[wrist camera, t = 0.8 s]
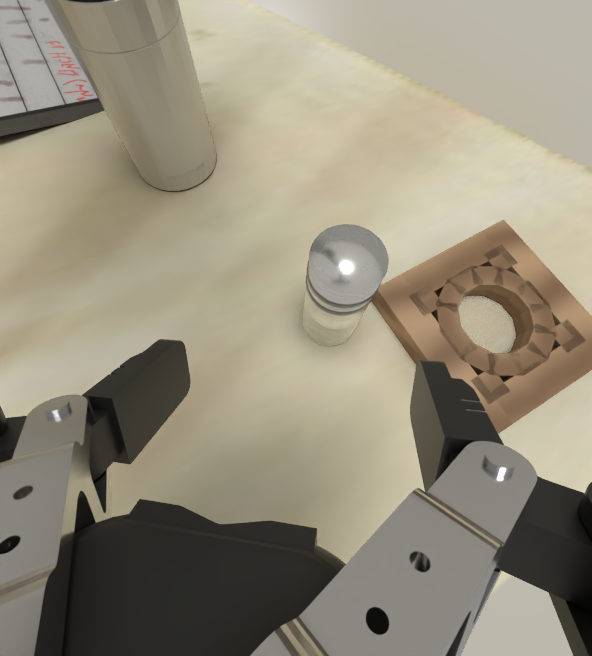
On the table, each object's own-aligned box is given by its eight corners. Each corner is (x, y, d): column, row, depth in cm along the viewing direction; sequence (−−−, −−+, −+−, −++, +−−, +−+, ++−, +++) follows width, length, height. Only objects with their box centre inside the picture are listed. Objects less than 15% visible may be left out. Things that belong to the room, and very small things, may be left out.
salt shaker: (292, 311, 34) (293, 244, 22) (337, 288, 35) (360, 212, 23) (319, 356, 32) (336, 308, 21) (365, 330, 33) (405, 271, 22)
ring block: (370, 298, 34) (376, 287, 32) (490, 233, 37) (503, 219, 35) (470, 442, 30) (485, 442, 27) (597, 356, 33) (621, 349, 30)
